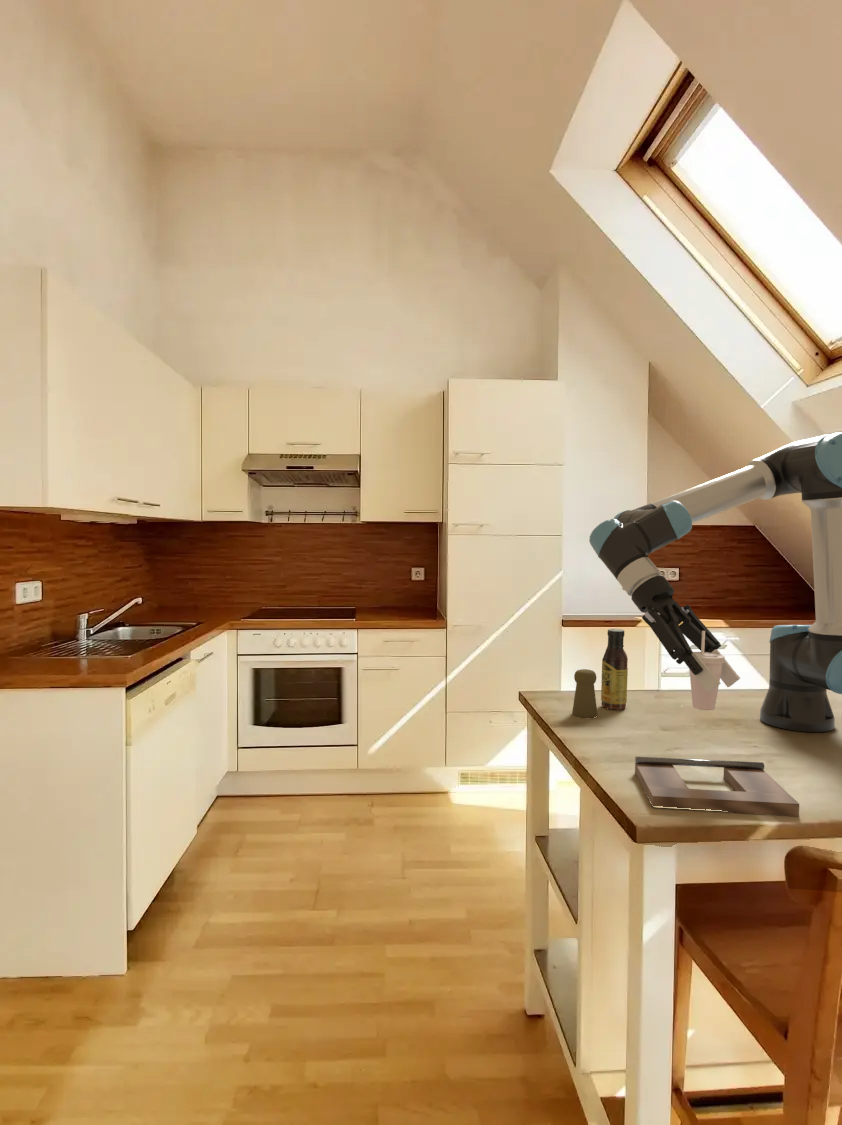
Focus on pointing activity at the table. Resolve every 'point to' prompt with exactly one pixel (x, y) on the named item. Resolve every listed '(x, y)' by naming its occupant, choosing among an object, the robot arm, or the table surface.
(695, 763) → the hook bar
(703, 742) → the table surface
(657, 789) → the slot board
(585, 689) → the cork
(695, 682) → the smoothie
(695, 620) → the robot arm
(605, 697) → the sauce bottle
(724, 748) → the table surface
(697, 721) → the table surface
